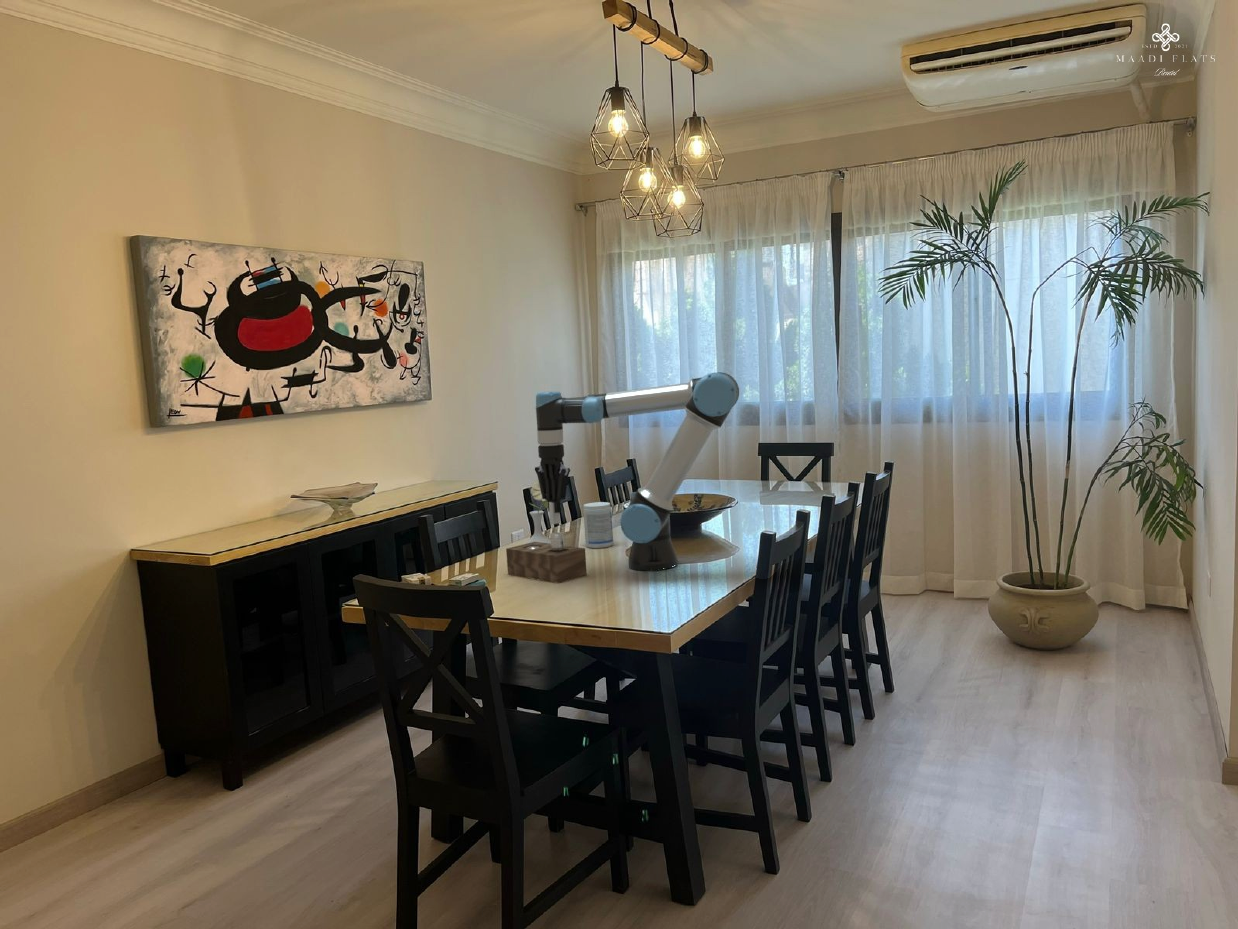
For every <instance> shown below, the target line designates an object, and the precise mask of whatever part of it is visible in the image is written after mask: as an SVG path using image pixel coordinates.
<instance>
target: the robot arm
mask: <svg viewBox="0 0 1238 929" xmlns="http://www.w3.org/2000/svg"><path fill="white" fill-rule="evenodd" d="M739 396H740V388H739V384H738V382H737V381H736V379H735V378H734V377H733V376H731V375H730V374H728V373H726V372H719V371H718V372H717V371H716V372H709V373H707V374H704V375H703V376H701V377H697V378H691V379H690V380H689V381H688V382H685V383H677V384H670V385H669V384H667V385H661V386H653V387H643V388H638V389H637V388H636V389H629V390H623V391H621V390H620V391H613V392H607V393H598V394H596V393H595V394H594V393H593V394H588V395H585V396H581V397H580V396H579V397H578V396H577V397H575V396H574V397H562V393H561V391H557V390H556V391H555V390H554V391H540V392H537V393H536V395H535V414H536V425H537V426H536V427H537V429H536V433H537V444H538V445H539V446H538V447H537V448H538V449H537V450H538V458H539V459H540V462H539V463H540V464H539V466H536V467H534V471H535V473H536V475H537V481H538V480H539V485H540V490H541V494H542V498H543V499H546V500H547V501H546V502H548V510H547V511H548V513H549V524H550V525H557V524H560V523H561V514H560V513H561V502H562V501H564V500H565V499H566V496H567V495H566V494H567V489H568V488H567V486H568V480H569V478H568V477H569V475H570V472H571V469H570V467H566V466H565V463H564V460H563V458H564V457H565V445H564V444H562V443H564V430H563V425H564V424H593V423H601V421H602V420H603V419H610V418H611V419H612V418H618V417H619V418H620V417H626V416H627V417H628V416H635V415H636V416H637V415H643V414H644V415H646V414H652V413H660V412H661V413H662V412H668V411H677V410H678V411H679V410H685V413H686V414H685V417H684V419H683V421H682V423H681V424H680V426H679V428H678V429H677V431H676V432H675V435H674V436H673V438H672V440H671V442H670V443H669V445H668V446H667V449H666V450H665V452H664V454H663V456H662V458H660V460H659V462H658V464H657V466H656V468H655V470H654V471H653V473H652V475H651V477H650V478H649V480H648V482H647V483H646V485H645V486H641V487H639V488H638V489H637V490H636V491H634V492H633V491H632V492H631V493H630V497H629V498H630V499H629V501H630V502H629V505H627V507H626V508H625V509H624V510H623V512H622V513H621V517H620V521H619V522H620V528H621V531H622V533H623V535H624V536H625V537H626V538H627V539H628V540H630V541H631V542H632V545H631V546H630V552H629V557H628V559H627V560H628V561H627V563H628V568H629V569H631V570H636V571H644V570H653V571H659V570H658V569H663V568H669V569H671V568H670V567H672V566H674V565H677V563H679V562H678V555H677V554H676V551H675V548H674V545H673V542H672V540H671V539H672V537H671V520H670V519H671V518H670V515H671V513H672V512H673V510H674V506H673V503H672V501H673V499H674V497H675V496H676V494H677V492H678V491H679V490H680V488H681V485H682V484H683V482H684V480H685V478H686V476H688V474H689V472H690V470H691V469H692V467H693V465H694V463H695V462H696V460H697V458H698V456H699V454H700V453H701V451H702V450H703V448H704V446H705V444H706V443H707V441H708V440H709V437H710V436H711V435H712V433H713V431H714V430H716V429H720V428H721V427H722V426H723V424H724V423H725V420H726V419H727V417H728V416H729V414H730V412H731V410H732V409H733V407H734V406H735V405H736V404H737V402H738V400H739ZM677 566H678V565H677ZM672 568H673V567H672ZM663 570H664V569H663Z"/></svg>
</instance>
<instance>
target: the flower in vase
mask: <svg viewBox="0 0 1238 929" xmlns="http://www.w3.org/2000/svg"><path fill="white" fill-rule="evenodd" d="M530 494H532V495H531V496H532V497H533V499H534V500H537V501H540V502H542V504H541V505H540V507H539V506H537V505H536V504H532V503H530V506H532V507H535V508H537V509H538V510H533V511H530V512H529V514H530V516H531V517H532V520H533V524H534V533H533V535H532V536H531V537H530V538H529V539H528V540H527V541H526V542H524V544H527V543H531V542H542V543H550V544H551V541H550V538H549V537H548V536H546V535H545V534H544V533H543V531H542V518H543V515H544V513H545V511H543V510H541V509H542V507H543V506H544V508H546V509H548V502H547V500H546V499H543V498H542V494H541V490H540V485H539V480H538V479H537V481H536V482H534V483H533V485H532V487H531V489H530Z"/></svg>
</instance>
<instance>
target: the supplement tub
mask: <svg viewBox="0 0 1238 929" xmlns="http://www.w3.org/2000/svg"><path fill="white" fill-rule="evenodd" d="M582 510H583V523H584V526H583V527H584V537H585V538H584V539H585V546H586V547H587V548H588V549H604V548H609V547H612V546H613V544H614V532H613V519H612V518H613V516H612V507H611V503H610V502H606V501H605V502H604V501H598V502H588V503H584V504H583V508H582Z"/></svg>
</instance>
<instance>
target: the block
mask: <svg viewBox="0 0 1238 929" xmlns="http://www.w3.org/2000/svg"><path fill="white" fill-rule="evenodd" d="M529 546H539V548H535V549H528V548H527V547H529ZM564 548H565V551H562V552H559V553H556V552H551V544H550V543H542V542H531V543H527V544H525V543H524V544H520V545H516V546H512V547H508V548H506V549H505V551H506V564H507V565H506V566H507V567H506V568H507V575H509V576H514V575H516V576H515V577H520V578H527V579H531V578H534V579H533V580H537V579H539V580H538V581H543V580H544V582H548V581H549V583H554V582H557V583H556V584H559V583H558V582H560V583H563V582H567V581H570V580H573V579H576V578H580V577H583V575H584V576H587V575H588V574H587V558H586V554H587V553H586V548H585V547H578V546H571V545H564ZM572 578H573V579H572ZM569 579H570V580H569ZM566 580H567V581H566Z"/></svg>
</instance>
